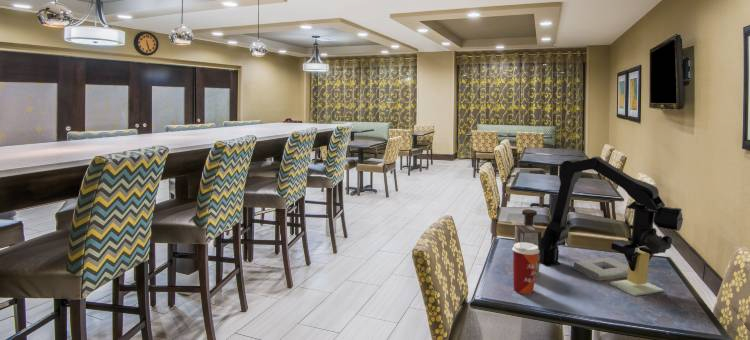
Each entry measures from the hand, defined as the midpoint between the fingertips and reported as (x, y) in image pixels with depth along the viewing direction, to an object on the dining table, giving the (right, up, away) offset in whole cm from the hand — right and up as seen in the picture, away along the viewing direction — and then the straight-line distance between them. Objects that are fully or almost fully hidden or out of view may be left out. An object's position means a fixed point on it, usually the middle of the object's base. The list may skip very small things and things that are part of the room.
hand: (637, 270), depth 157 cm
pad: (0, -6, +1) cm, 6 cm away
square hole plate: (-4, -4, +14) cm, 15 cm away
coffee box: (-33, -4, +13) cm, 35 cm away
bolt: (-23, +1, +41) cm, 47 cm away
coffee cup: (-38, -6, -2) cm, 39 cm away
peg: (0, -4, +1) cm, 4 cm away
